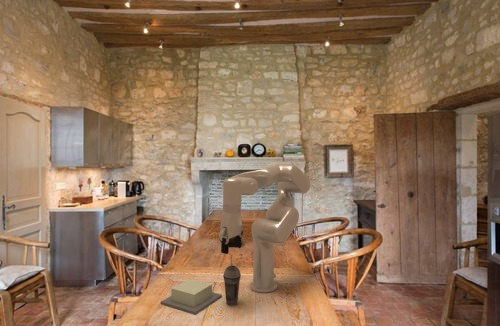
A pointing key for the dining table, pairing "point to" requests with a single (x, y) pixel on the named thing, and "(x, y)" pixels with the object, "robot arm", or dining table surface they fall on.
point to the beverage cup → (231, 284)
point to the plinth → (191, 309)
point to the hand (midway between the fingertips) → (231, 250)
